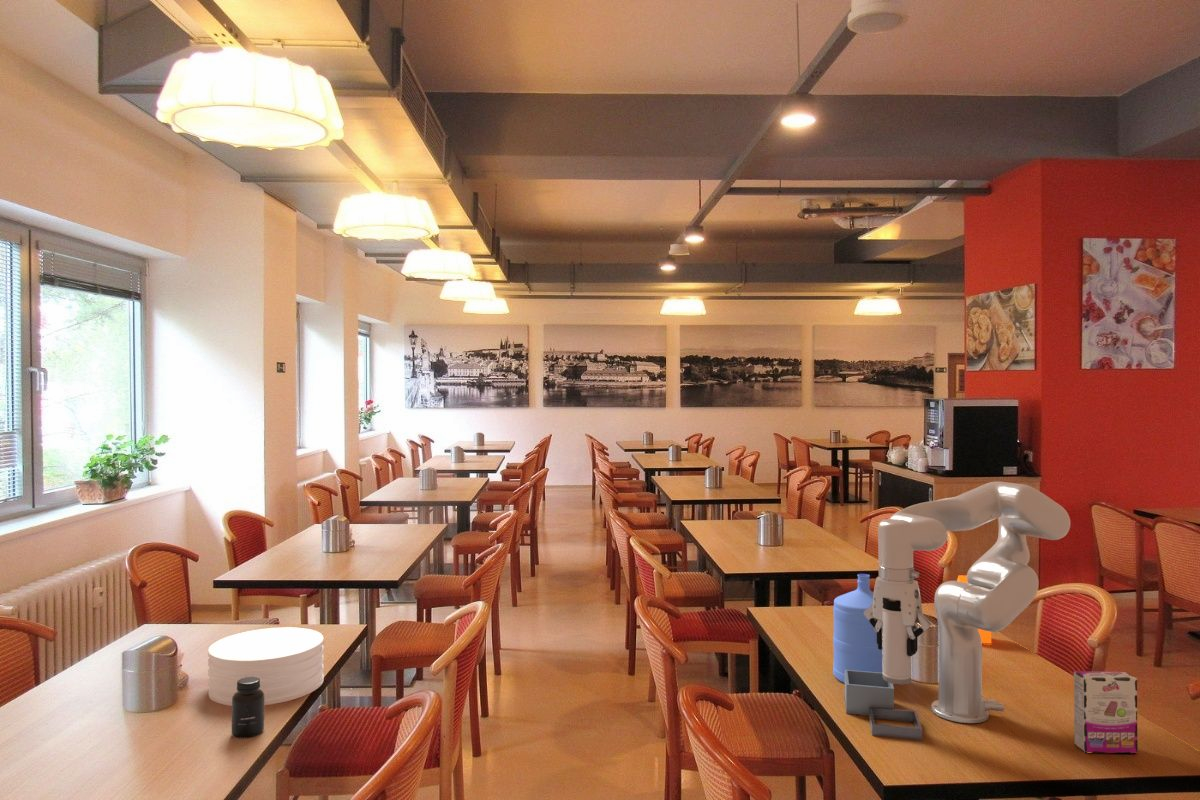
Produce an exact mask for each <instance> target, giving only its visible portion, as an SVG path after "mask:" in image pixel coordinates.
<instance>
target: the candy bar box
mask: <svg viewBox="0 0 1200 800" xmlns="http://www.w3.org/2000/svg"><path fill="white" fill-rule="evenodd" d="M1073 715H1074V716H1073V723H1074V725H1073V727H1074V728H1073V729H1074V730H1073V732H1074V734H1073V735H1074V737H1073V738H1074V739H1073V741H1074V742H1073V743H1074V745H1075V744H1076V745H1077V746H1078V747H1079V749H1080V748H1081V749H1082V750H1083V751H1084V752H1083V751H1082V750H1081V749H1080V750H1081V751H1082V752H1083V753H1085V752H1092V753H1139V752H1138V749H1139V748H1138V678H1137V677H1135V676H1134V675H1132V674H1130V673H1128V672H1127V671H1123V670H1122V671H1115V670H1114V671H1109V670H1108V671H1105V670H1103V671H1098V670H1095V671H1093V670H1091V671H1089V670H1086V671H1084V670H1083V671H1081V670H1079V671H1078V670H1074V671H1073ZM1076 745H1075V746H1076ZM1077 746H1076V747H1077ZM1078 747H1077V748H1078Z"/></svg>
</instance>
